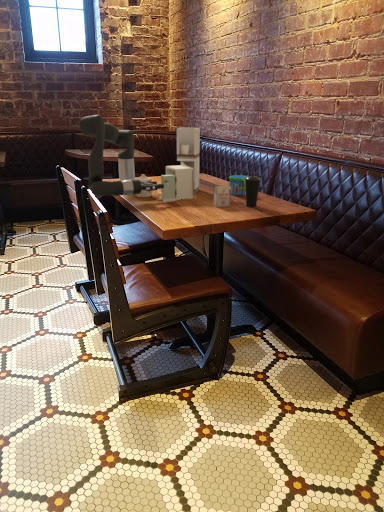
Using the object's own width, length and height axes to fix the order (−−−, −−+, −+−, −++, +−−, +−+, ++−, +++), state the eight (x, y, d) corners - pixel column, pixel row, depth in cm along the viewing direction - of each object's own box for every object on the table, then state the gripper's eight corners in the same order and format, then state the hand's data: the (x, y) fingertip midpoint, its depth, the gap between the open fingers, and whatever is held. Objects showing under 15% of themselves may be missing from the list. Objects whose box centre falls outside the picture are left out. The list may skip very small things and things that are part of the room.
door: (161, 200, 212) (161, 175, 207) (172, 199, 214) (171, 174, 210) (165, 201, 208) (164, 176, 203) (175, 200, 211) (175, 175, 206)
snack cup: (223, 192, 231) (224, 174, 228) (240, 191, 235) (241, 173, 231) (235, 198, 217) (236, 179, 214) (253, 196, 221) (254, 178, 217)
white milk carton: (213, 205, 201) (214, 185, 197) (226, 204, 203) (226, 184, 199) (216, 207, 197) (216, 187, 194) (229, 206, 199) (229, 186, 196)
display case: (181, 188, 242) (181, 127, 229) (199, 189, 240) (199, 127, 227) (177, 192, 231) (176, 128, 219) (195, 193, 229) (195, 128, 217)
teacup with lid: (153, 197, 219) (152, 175, 215) (136, 197, 217) (135, 176, 213) (150, 192, 230) (149, 172, 226) (134, 193, 228) (133, 172, 224)
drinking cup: (241, 204, 203) (243, 164, 196) (256, 204, 204) (259, 164, 197) (245, 208, 196) (247, 166, 189) (260, 207, 197) (263, 166, 190)
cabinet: (152, 196, 219) (151, 167, 214) (182, 193, 227) (182, 165, 222) (164, 202, 207) (163, 170, 201) (194, 198, 215) (195, 168, 209)
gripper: (135, 181, 192) (165, 179, 199) (124, 177, 204) (154, 175, 211) (135, 197, 195) (166, 194, 202) (125, 192, 206) (154, 189, 214)
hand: (160, 184), depth 206 cm, fingers open, 8 cm apart
